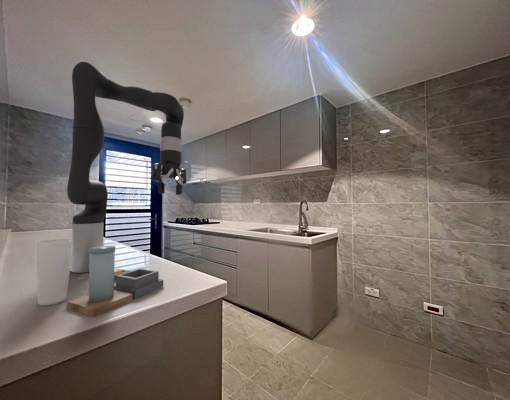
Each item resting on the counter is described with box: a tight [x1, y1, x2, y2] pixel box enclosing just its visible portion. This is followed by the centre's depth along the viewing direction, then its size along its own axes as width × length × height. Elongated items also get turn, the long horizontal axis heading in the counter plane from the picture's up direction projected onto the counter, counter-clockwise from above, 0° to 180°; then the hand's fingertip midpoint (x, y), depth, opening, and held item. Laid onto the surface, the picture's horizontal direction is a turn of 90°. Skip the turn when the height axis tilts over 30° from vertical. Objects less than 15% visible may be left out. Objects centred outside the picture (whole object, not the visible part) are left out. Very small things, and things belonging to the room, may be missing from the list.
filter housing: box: [114, 267, 164, 299], centre depth 64 cm, size 19×9×4 cm, turn 67°
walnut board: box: [66, 290, 133, 318], centre depth 53 cm, size 10×9×2 cm
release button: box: [114, 268, 122, 275], centre depth 66 cm, size 4×4×2 cm
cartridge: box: [88, 245, 116, 302], centre depth 53 cm, size 5×5×12 cm
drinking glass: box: [34, 238, 72, 307], centre depth 54 cm, size 7×7×15 cm
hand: (170, 194), depth 81 cm, fingers open, 8 cm apart
